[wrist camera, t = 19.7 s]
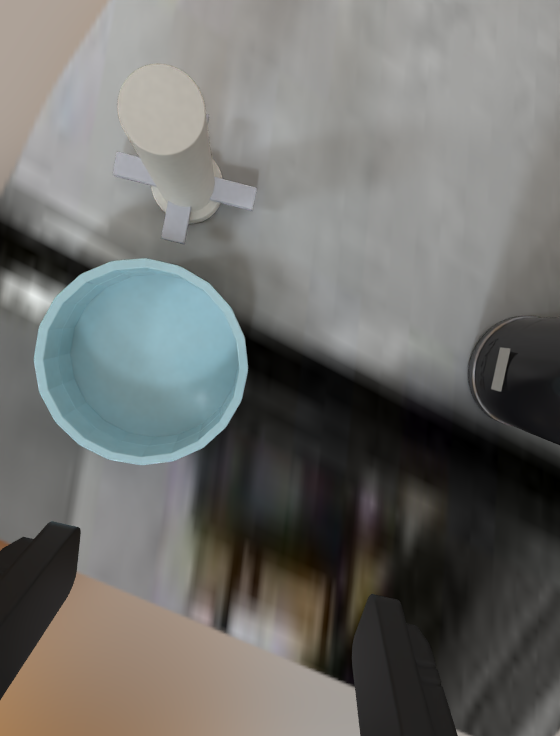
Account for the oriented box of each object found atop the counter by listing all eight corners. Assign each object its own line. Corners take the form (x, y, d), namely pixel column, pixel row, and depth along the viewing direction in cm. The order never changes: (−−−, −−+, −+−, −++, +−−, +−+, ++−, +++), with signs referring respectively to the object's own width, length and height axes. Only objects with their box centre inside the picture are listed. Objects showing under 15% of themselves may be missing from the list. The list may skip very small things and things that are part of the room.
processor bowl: (260, 289, 35) (266, 285, 29) (225, 454, 36) (224, 479, 31) (82, 248, 33) (53, 236, 27) (52, 424, 34) (19, 444, 29)
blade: (265, 146, 33) (287, 42, 21) (241, 261, 34) (248, 231, 21) (131, 109, 32) (65, -26, 19) (110, 230, 33) (33, 178, 20)
